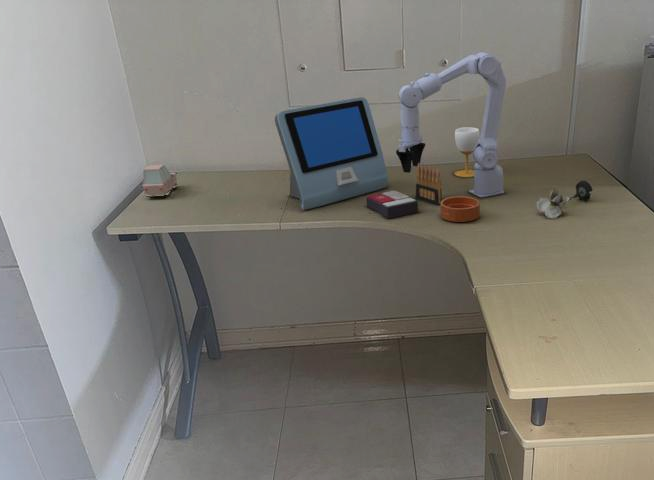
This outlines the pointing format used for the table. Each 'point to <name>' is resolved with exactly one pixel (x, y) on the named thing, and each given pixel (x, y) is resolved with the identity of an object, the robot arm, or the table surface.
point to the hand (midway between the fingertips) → (411, 169)
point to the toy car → (158, 180)
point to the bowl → (460, 209)
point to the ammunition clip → (428, 185)
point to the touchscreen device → (331, 152)
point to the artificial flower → (553, 206)
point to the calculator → (392, 204)
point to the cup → (466, 146)
